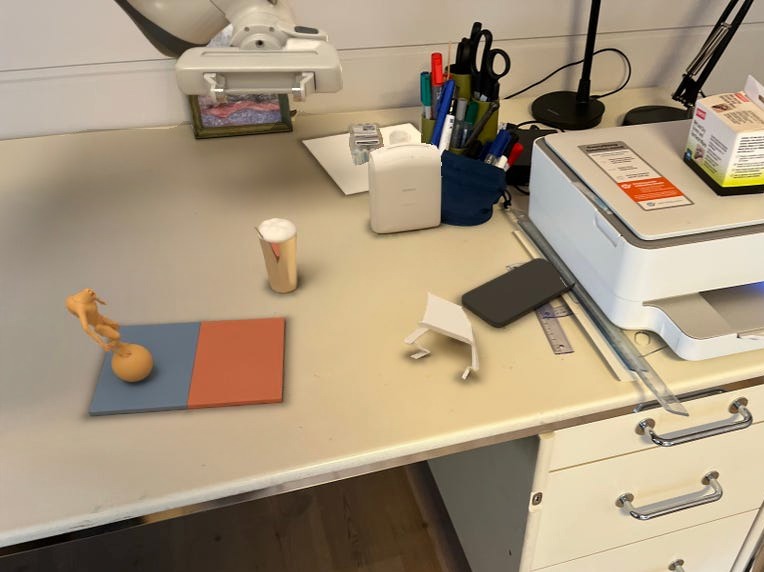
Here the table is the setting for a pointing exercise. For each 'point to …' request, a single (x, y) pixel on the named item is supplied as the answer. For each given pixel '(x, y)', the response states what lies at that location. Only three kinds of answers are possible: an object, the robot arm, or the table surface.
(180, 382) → the sorting board
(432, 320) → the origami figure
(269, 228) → the milkshake
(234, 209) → the table surface
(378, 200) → the photo printer
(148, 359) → the figurine
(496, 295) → the phone
